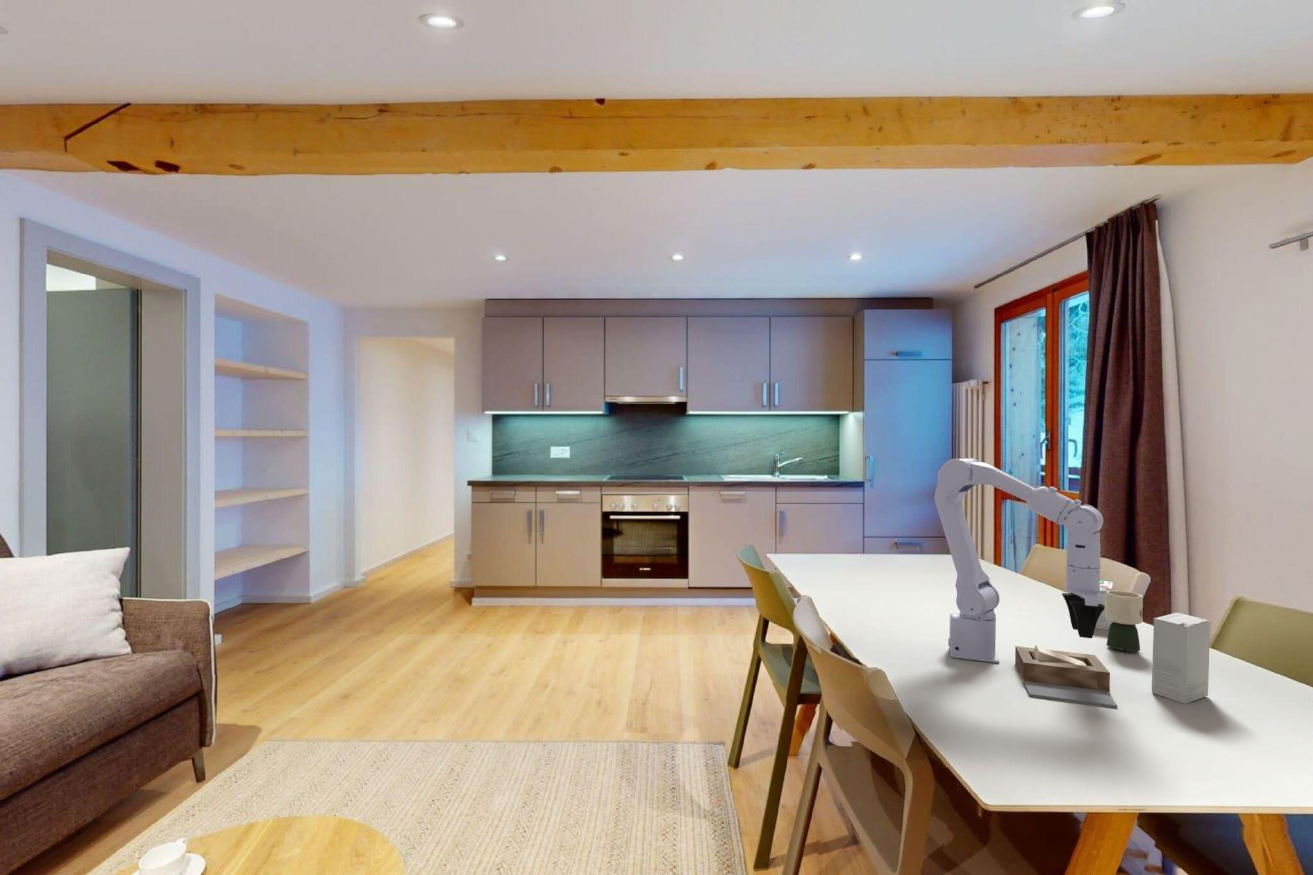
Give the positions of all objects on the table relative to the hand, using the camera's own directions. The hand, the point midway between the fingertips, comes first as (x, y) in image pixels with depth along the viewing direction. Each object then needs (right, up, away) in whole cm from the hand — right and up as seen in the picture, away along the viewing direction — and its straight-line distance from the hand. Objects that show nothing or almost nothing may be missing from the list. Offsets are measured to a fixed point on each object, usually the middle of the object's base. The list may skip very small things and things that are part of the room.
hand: (1082, 633), depth 133 cm
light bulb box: (+30, -10, +41) cm, 52 cm away
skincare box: (+14, -10, -8) cm, 19 cm away
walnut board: (-4, -9, +1) cm, 10 cm away
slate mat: (-8, -9, -8) cm, 15 cm away
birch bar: (-4, -7, +1) cm, 8 cm away
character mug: (+22, -10, +19) cm, 31 cm away
